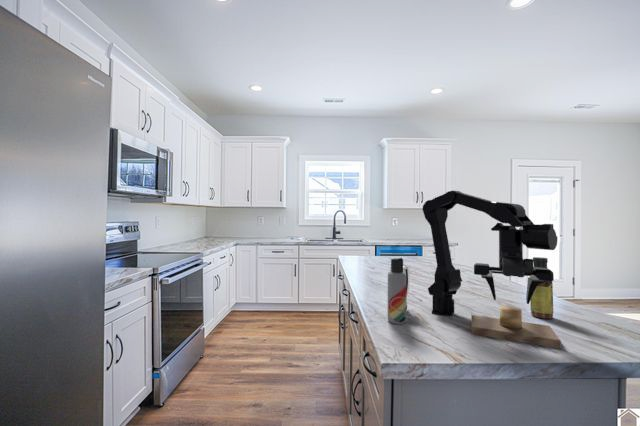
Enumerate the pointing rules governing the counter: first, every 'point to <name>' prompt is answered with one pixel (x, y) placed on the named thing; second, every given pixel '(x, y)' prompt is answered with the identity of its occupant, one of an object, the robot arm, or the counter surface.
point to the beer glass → (406, 270)
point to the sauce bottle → (542, 294)
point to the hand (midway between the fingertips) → (510, 301)
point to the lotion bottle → (397, 292)
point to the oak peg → (511, 317)
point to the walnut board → (515, 331)
